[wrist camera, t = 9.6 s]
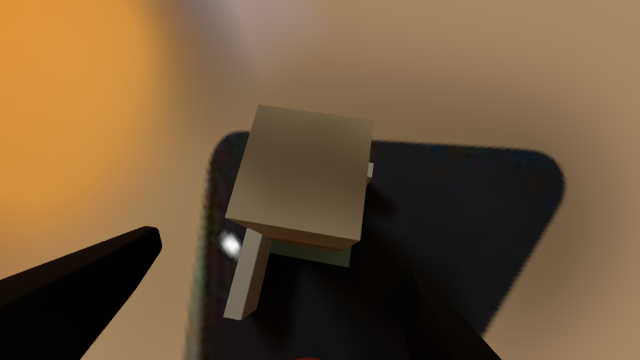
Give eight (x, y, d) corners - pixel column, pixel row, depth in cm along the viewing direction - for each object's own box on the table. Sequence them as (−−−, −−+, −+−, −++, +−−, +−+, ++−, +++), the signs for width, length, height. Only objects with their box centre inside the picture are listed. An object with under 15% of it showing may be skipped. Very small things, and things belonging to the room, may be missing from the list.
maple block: (337, 253, 21) (359, 240, 9) (281, 243, 21) (224, 217, 9) (345, 198, 22) (373, 120, 10) (293, 189, 23) (258, 104, 10)
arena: (347, 327, 19) (353, 343, 15) (242, 306, 20) (223, 316, 16) (365, 179, 23) (373, 163, 19) (277, 165, 24) (269, 147, 20)
